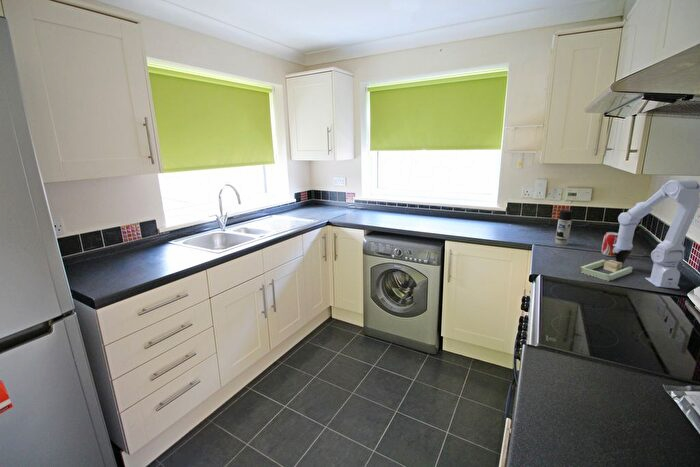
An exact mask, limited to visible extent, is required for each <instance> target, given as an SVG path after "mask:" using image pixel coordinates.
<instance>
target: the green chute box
mask: <svg viewBox="0 0 700 467" xmlns="http://www.w3.org/2000/svg"><path fill="white" fill-rule="evenodd" d="M605 261H607V260H605V259H600V260H598V261H594V262H591V263H588V264H586V265H582V266H580V267H579V269H578V273H581V274H583V273H584V275H586V274H587V275H586V276H590V275H591V276H590V277H593V276H594V277H593V278H596V277H597V279H600V280H603V281H606V280H607V282H610V280H611V281H613V280H615V279H618V278H621V277H623V276H626V275H628V274H631V273H632V272H633V269H634V267H633V266H627V267H624V268H621V270H619V271H616V272H611V273H609V274H608V273H605V272H601V271H597V270H594V269H598V268H601V267H604V263H605Z"/></svg>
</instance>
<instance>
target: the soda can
mask: <svg viewBox="0 0 700 467" xmlns="http://www.w3.org/2000/svg"><path fill="white" fill-rule="evenodd" d="M617 237H618V232H613V231H608V232H607V231H606V233H605V234H604V235H603V240H602V245H601V252H600V253H601V254H602V255H603V256H605V257H616V256H615V253H614V252H613V248H615V246H613V244H616V242H617Z"/></svg>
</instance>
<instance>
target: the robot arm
mask: <svg viewBox="0 0 700 467" xmlns="http://www.w3.org/2000/svg"><path fill="white" fill-rule="evenodd" d="M668 198H671V199H672V200H674V201H675V202H676V203H677V205H678V207H677V209H676V212H675V214H674V216H673V219H672V221H671V224H670V226H669V228H668V231H667V232H666V235H665V237H664V240H663V241H661V242H660V243H659V244H656V245H657V246H656V247H655V249H653V250H652V251H651V253H650V257H651V260H652V263H653V265H652V270H651V274H650V277H645V280H647V281H648V282H649V283H651V285H654V286H655V287H656V288H657V287H658V288H669V289H678V290H679V289H680V286H678V284H679V282H680V278H681V272H680V271H679V269H678V268H677V267H678V265H679V263H680V262H682V261H683V260H684V259H685V250H686V247H685V246H684V245H683V242H684V240H685V237H686V236H687V234H688V231H689V228H690V227H691V225H692V222H693V220H694V218H695V215H696V214H697V211H698V209H699V207H700V183H699V182H698V181H697V180H696V179H671V180H669V181H667V182H665V183H664V184H662V185H661V188H660V189H659V190H658V191H656V192H655V193H654V194H652V196H651V197H649V198H648V199H647V200H646V201H640V202H636V203H635V205H634V206H633V207H632V208H630V209H627V211H625V212H621V213H620V214H619V215H618V217H617V220H618V223H619V229H618V232H617V233H618V237H617V242H616V244H613V246H615V248H613V252H614V253H615V256H614V257H615V261H617V262H621V263H622V266H623V265H624V263H625V261H626V260H627V258H628V256H629V255H630V254H631V253H632V251H631V250H632V249H633V247H634V245H633V239H634V235H635V230H636V228H637V227H638V225H639V223H640V222H641V219H642V218H644V217H645V216H647V215H648V214H650V213H651V212H652V211H653V207H655V206H657V205H659V204H660V203H662V202H663V201H665V200H666V199H668Z"/></svg>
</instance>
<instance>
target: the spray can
mask: <svg viewBox="0 0 700 467" xmlns="http://www.w3.org/2000/svg"><path fill="white" fill-rule="evenodd" d="M573 213H574V212H573V210H568V209H561V210H559V213H558V214H559V215H558V221H557V227H556V234H555V238H554V240H555V241H554V243H555V245H559V246H568V244H569V238H570V233H571V227H572V221H573V220H572V219H573Z"/></svg>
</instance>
